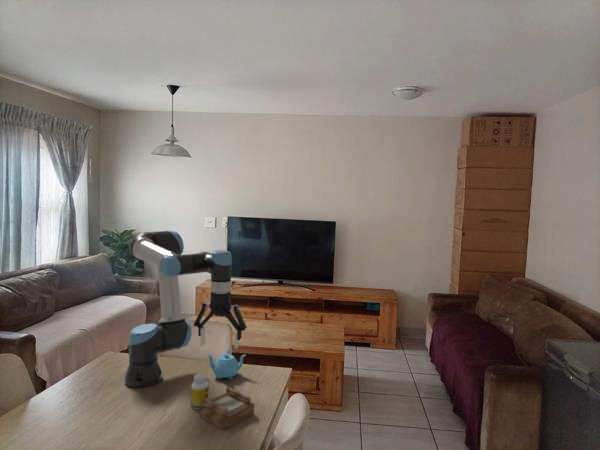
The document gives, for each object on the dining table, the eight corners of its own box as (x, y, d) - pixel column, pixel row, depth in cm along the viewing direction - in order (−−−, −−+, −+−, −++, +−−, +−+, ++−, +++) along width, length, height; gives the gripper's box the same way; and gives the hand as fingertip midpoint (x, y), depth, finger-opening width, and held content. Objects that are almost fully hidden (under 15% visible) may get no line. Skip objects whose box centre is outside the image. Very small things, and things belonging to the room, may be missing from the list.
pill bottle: (204, 411, 151) (204, 380, 151) (188, 408, 153) (188, 378, 152) (211, 402, 158) (211, 373, 157) (195, 400, 159) (196, 371, 158)
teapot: (229, 367, 191) (229, 346, 190) (247, 376, 182) (247, 354, 181) (206, 375, 181) (206, 353, 181) (223, 385, 172) (223, 362, 172)
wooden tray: (199, 416, 148) (199, 399, 147) (228, 401, 159) (228, 385, 158) (225, 430, 139) (225, 412, 139) (253, 414, 150) (254, 397, 150)
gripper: (185, 291, 151) (184, 346, 153) (249, 296, 147) (248, 352, 149) (193, 286, 158) (192, 339, 160) (255, 291, 155) (253, 345, 156)
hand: (219, 346), depth 155 cm, fingers open, 13 cm apart
